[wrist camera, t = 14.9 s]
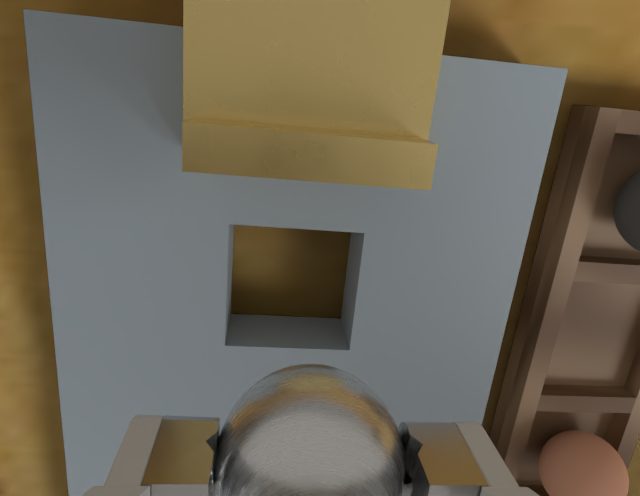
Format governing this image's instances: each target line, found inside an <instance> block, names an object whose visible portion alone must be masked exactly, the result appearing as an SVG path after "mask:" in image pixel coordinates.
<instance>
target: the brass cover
mask: <svg viewBox="0 0 640 496" xmlns="http://www.w3.org/2000/svg"><path fill="white" fill-rule="evenodd" d="M450 3H451V0H183V122H182V172H195V173H208V174H221V175H234V176H248V177H261V178H274V179H287V180H300V181H313V182H326V183H339V184H352V185H365V186H379V187H392V188H405V189H418V190H431V185H432V179H433V174H434V168H435V162H436V156H437V150H438V144H436V143H433V142H431V141H428V138H429V132H430V126H431V120H432V114H433V107H434V101H435V95H436V89H437V83H438V77H439V71H440V64H441V58H442V52H443V46H444V40H445V34H446V28H447V22H448V15H449V9H450Z"/></svg>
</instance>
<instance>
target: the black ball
mask: <svg viewBox="0 0 640 496" xmlns="http://www.w3.org/2000/svg"><path fill="white" fill-rule="evenodd" d="M614 221H615V225H616V227H617V230H618V232H619V233H620V235H621V236H622V237H623V239H624V240H625V241H626V242H627V243H628V244H629V245H630V246H632V247H633V248H635V249H636V250H638V251H640V171H639V172H638V173H636V174H635V175H633V176H632V177H631V178H630V179H629V180H628V181H627V182H626V183H625V184H624V185H623V186H622V188H621V189H620V191H619V193H618V195H617V197H616V200H615V204H614Z"/></svg>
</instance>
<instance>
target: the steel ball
mask: <svg viewBox="0 0 640 496" xmlns="http://www.w3.org/2000/svg"><path fill="white" fill-rule="evenodd" d="M214 468H215V483H216V490H217V495H218V496H402V492H403V487H404V478H405V456H404V449H403V444H402V440H401V435H400V432H399V429H398V427H397V424H396V422H395V420H394V418H393V415H392V414H391V412H390V410H389V409H388V407H387V406H386V404H385V403H384V401H383V400H382V399H381V398H380V397H379V395H378V394H377V393H376V392H375V391H374V390H373V389H372V388H370V387H369V386H368V385H367V384H366V383H365V382H363V381H362V380H360V379H359V378H358V377H356V376H354V375H352V374H350V373H348V372H346V371H344V370H341V369H338V368H336V367H331V366H327V365H319V364H302V365H294V366H290V367H286V368H283V369H280V370H277V371H275V372H273V373H271V374H269V375H267V376H265V377H264V378H262V379H261V380H259V381H258V382H257V383H255V384H254V385H253V386H252V387H250V388H249V389H248V390H247V391H246V392H245V393H244V394H243V395H242V396H241V398H240V399H239V400H238V401H237V403H236V404H235V405H234V407H233V408H232V410H231V411H230V413H229V415H228V417H227V419H226V421H225V423H224V425H223V428H222V430H221V433H220V437H219V441H218V449H217V459H216V464H215V467H214Z"/></svg>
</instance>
